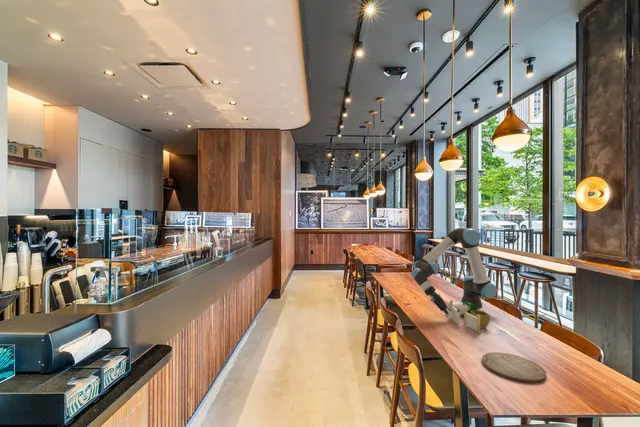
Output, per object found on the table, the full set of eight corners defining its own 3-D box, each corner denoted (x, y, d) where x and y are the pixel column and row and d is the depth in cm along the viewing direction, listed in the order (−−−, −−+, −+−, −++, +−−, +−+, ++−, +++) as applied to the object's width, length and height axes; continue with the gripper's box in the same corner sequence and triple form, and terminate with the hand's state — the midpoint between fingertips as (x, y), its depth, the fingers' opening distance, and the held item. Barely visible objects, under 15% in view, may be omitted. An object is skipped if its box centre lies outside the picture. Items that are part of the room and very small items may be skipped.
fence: (449, 317, 203) (449, 300, 203) (453, 317, 203) (453, 300, 203) (478, 333, 175) (478, 314, 175) (482, 333, 175) (482, 313, 176)
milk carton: (472, 313, 213) (444, 313, 213) (471, 301, 214) (444, 301, 214) (478, 317, 204) (450, 316, 204) (478, 304, 205) (449, 303, 205)
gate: (451, 317, 200) (451, 303, 200) (453, 317, 200) (453, 303, 200) (457, 324, 187) (457, 309, 187) (460, 324, 187) (460, 309, 187)
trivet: (516, 388, 120) (516, 383, 120) (470, 359, 144) (470, 355, 144) (560, 379, 127) (560, 374, 127) (508, 353, 151) (508, 349, 151)
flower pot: (484, 324, 191) (484, 310, 191) (490, 329, 182) (490, 315, 182) (470, 323, 191) (470, 310, 192) (475, 328, 183) (475, 314, 183)
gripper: (427, 289, 212) (450, 318, 201) (420, 293, 201) (444, 323, 190) (435, 283, 208) (459, 312, 197) (428, 286, 198) (453, 317, 187)
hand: (452, 317), depth 194 cm, fingers closed
